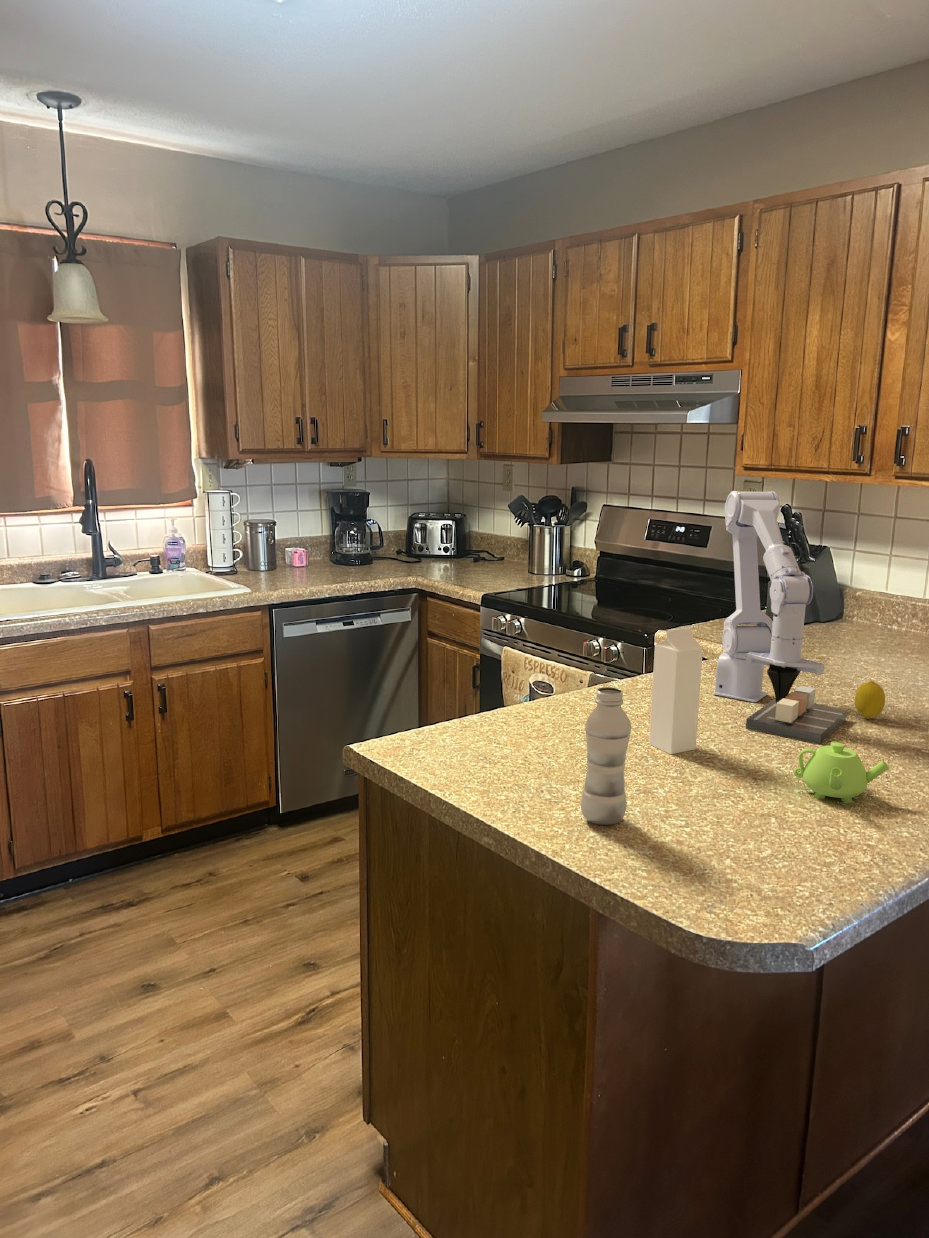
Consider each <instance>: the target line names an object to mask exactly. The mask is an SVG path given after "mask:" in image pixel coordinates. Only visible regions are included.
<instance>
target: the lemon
mask: <svg viewBox="0 0 929 1238" xmlns="http://www.w3.org/2000/svg"><path fill="white" fill-rule="evenodd" d="M854 705H855V709H856V710H857V712H858V713H859V714H860V715H861V716H863V717H864V719H866V720H870V719H871V718H873V717H876V716H878V715H880V714H881V713H882V712H883V710H884V709H885V708H884V707H885V705H886V694H885V691H884V689H883V687H882V686H881V685H879V684H878V683H877V682H875V681H873V680H870V681H868V682H865V683H862V684H861V685H859V687H857V690H856V692H855V695H854Z"/></svg>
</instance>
